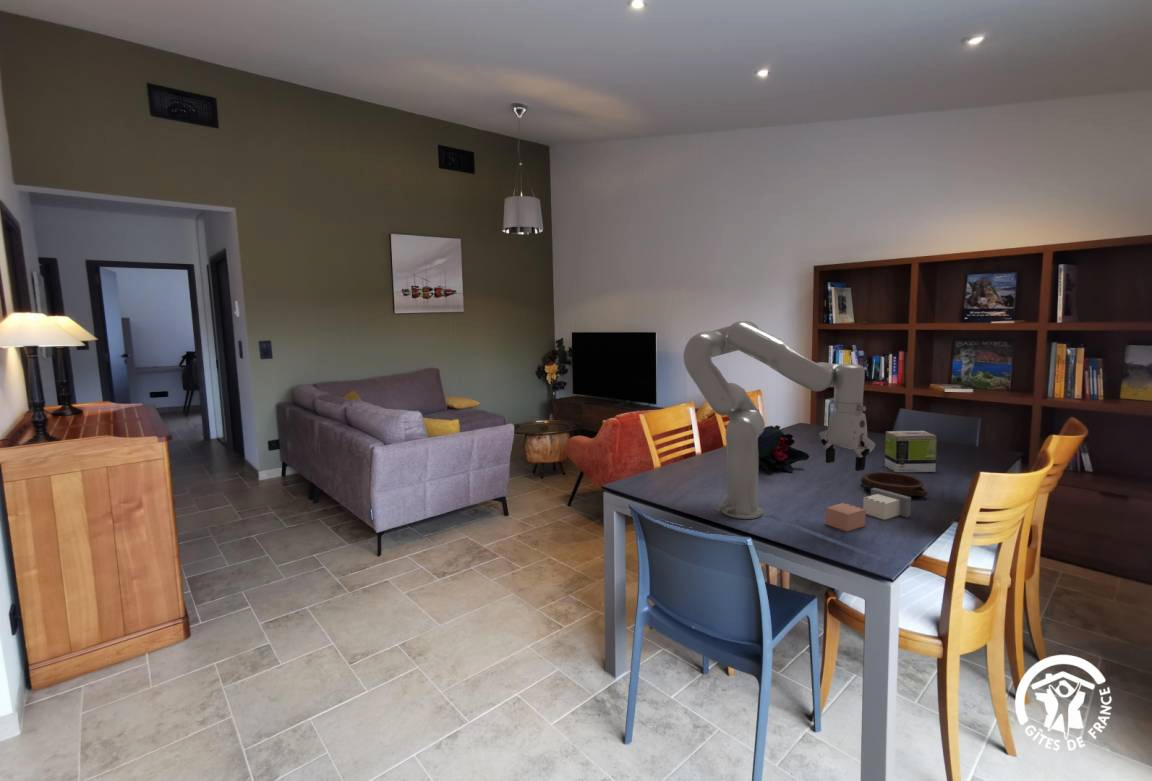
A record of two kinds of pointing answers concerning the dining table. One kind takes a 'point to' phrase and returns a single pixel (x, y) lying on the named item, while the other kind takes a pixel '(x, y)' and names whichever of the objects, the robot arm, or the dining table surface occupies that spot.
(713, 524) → the dining table surface
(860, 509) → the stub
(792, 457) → the decorative plant
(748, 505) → the robot arm
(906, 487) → the dish
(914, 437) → the tea box
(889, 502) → the white block
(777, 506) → the dining table surface
